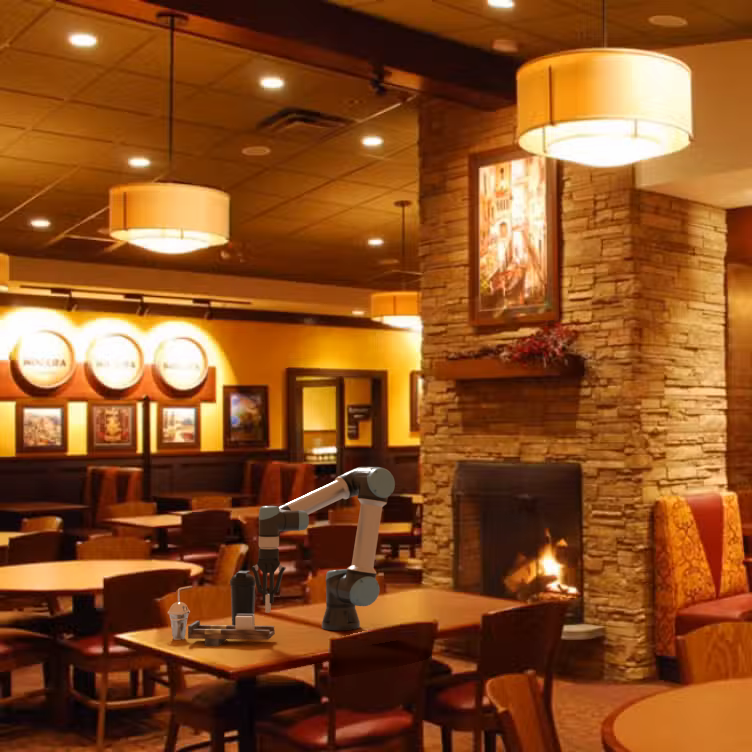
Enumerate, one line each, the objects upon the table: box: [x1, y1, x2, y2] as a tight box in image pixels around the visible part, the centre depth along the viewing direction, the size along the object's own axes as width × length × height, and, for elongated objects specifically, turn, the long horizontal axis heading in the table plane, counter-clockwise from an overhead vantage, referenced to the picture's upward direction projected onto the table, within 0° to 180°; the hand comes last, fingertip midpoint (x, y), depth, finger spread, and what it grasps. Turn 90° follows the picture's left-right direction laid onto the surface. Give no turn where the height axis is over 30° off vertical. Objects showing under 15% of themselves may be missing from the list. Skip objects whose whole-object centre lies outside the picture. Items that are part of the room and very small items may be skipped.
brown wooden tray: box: [187, 620, 276, 647], centre depth 415 cm, size 30×13×7 cm, turn 84°
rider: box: [235, 614, 256, 630], centre depth 415 cm, size 6×6×7 cm
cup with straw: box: [167, 585, 193, 641], centre depth 425 cm, size 8×9×20 cm
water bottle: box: [229, 570, 257, 625], centre depth 443 cm, size 10×10×23 cm
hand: (268, 612), depth 414 cm, fingers closed
